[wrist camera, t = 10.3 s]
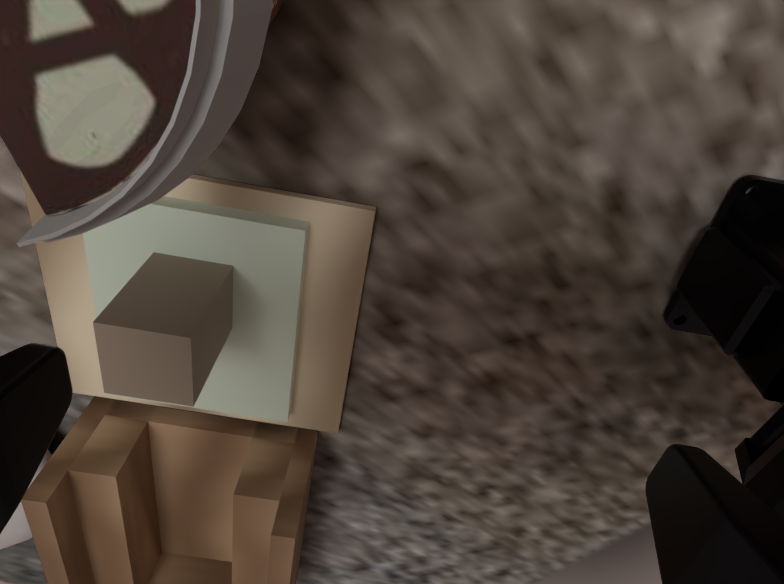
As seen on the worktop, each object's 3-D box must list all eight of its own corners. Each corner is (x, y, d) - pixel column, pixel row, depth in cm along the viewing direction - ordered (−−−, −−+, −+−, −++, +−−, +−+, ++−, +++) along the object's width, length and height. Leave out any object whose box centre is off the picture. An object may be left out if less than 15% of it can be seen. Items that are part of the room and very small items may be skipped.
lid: (309, 221, 20) (277, 299, 16) (290, 409, 26) (263, 507, 21) (87, 182, 20) (-9, 251, 15) (116, 382, 25) (51, 476, 21)
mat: (376, 206, 20) (375, 211, 20) (338, 427, 27) (337, 433, 26) (22, 143, 20) (15, 147, 19) (72, 385, 26) (67, 391, 26)
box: (318, 431, 27) (295, 538, 22) (299, 564, 33) (278, 670, 29) (94, 396, 26) (20, 499, 22) (119, 538, 33) (67, 642, 28)
